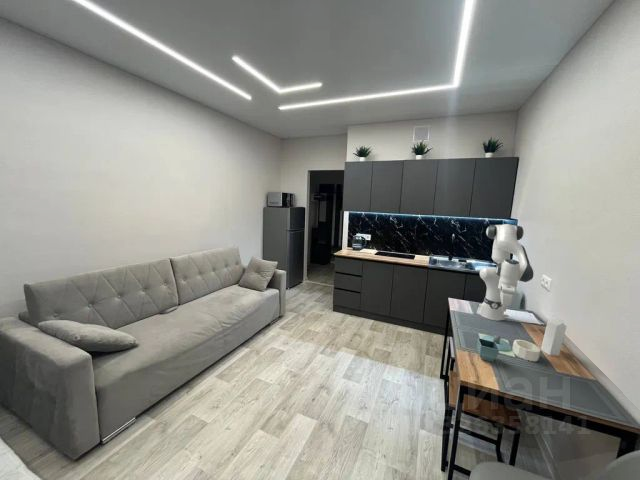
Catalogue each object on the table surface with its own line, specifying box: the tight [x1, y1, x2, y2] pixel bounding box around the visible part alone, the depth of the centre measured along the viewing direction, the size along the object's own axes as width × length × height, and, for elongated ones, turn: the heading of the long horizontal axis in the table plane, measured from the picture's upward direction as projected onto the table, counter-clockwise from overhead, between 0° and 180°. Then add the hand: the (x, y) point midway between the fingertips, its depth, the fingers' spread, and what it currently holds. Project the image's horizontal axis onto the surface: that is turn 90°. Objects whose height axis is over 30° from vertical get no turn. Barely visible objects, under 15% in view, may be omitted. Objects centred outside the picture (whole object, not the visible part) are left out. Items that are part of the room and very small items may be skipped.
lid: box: [482, 334, 512, 351], centre depth 158 cm, size 15×15×5 cm
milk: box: [540, 316, 567, 356], centre depth 153 cm, size 6×6×22 cm
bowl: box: [511, 339, 542, 362], centre depth 150 cm, size 12×12×6 cm
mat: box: [478, 332, 517, 359], centre depth 158 cm, size 20×16×1 cm
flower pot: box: [476, 337, 499, 362], centre depth 143 cm, size 9×9×9 cm
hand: (503, 308), depth 155 cm, fingers open, 8 cm apart
